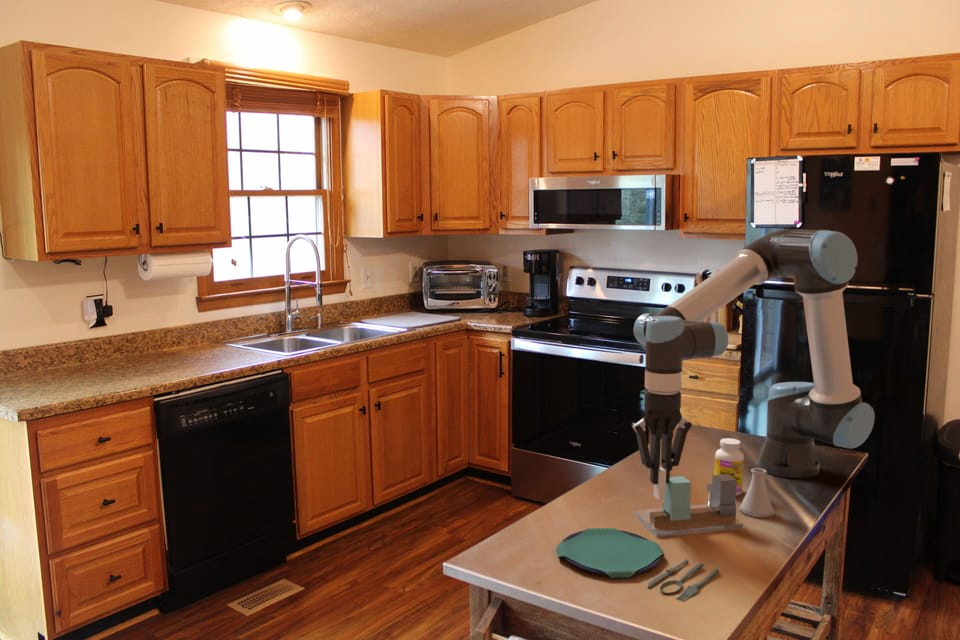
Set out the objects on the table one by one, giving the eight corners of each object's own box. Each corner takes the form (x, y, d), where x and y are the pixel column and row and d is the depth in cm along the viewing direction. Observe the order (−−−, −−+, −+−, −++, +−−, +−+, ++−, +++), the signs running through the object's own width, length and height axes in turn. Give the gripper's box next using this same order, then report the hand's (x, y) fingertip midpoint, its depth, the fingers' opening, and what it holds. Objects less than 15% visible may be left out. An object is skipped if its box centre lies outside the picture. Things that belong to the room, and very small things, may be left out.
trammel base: (715, 508, 186) (717, 464, 184) (743, 529, 174) (745, 481, 173) (634, 515, 182) (635, 470, 180) (656, 537, 170) (658, 489, 169)
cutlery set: (596, 528, 175) (597, 518, 175) (726, 574, 155) (727, 563, 155) (539, 559, 161) (539, 548, 160) (674, 614, 141) (674, 602, 140)
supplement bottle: (713, 495, 194) (716, 444, 192) (712, 486, 200) (715, 436, 198) (743, 498, 192) (745, 446, 190) (741, 488, 199) (743, 438, 197)
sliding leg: (672, 509, 181) (674, 469, 180) (690, 524, 173) (691, 482, 172) (654, 511, 180) (655, 470, 179) (671, 526, 172) (672, 484, 171)
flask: (733, 508, 186) (735, 467, 184) (758, 504, 188) (761, 463, 187) (754, 520, 179) (756, 477, 178) (780, 516, 182) (783, 473, 180)
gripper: (683, 384, 174) (679, 489, 178) (626, 387, 172) (623, 494, 175) (699, 392, 167) (695, 501, 171) (640, 396, 164) (637, 506, 168)
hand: (659, 497), depth 173 cm, fingers closed
